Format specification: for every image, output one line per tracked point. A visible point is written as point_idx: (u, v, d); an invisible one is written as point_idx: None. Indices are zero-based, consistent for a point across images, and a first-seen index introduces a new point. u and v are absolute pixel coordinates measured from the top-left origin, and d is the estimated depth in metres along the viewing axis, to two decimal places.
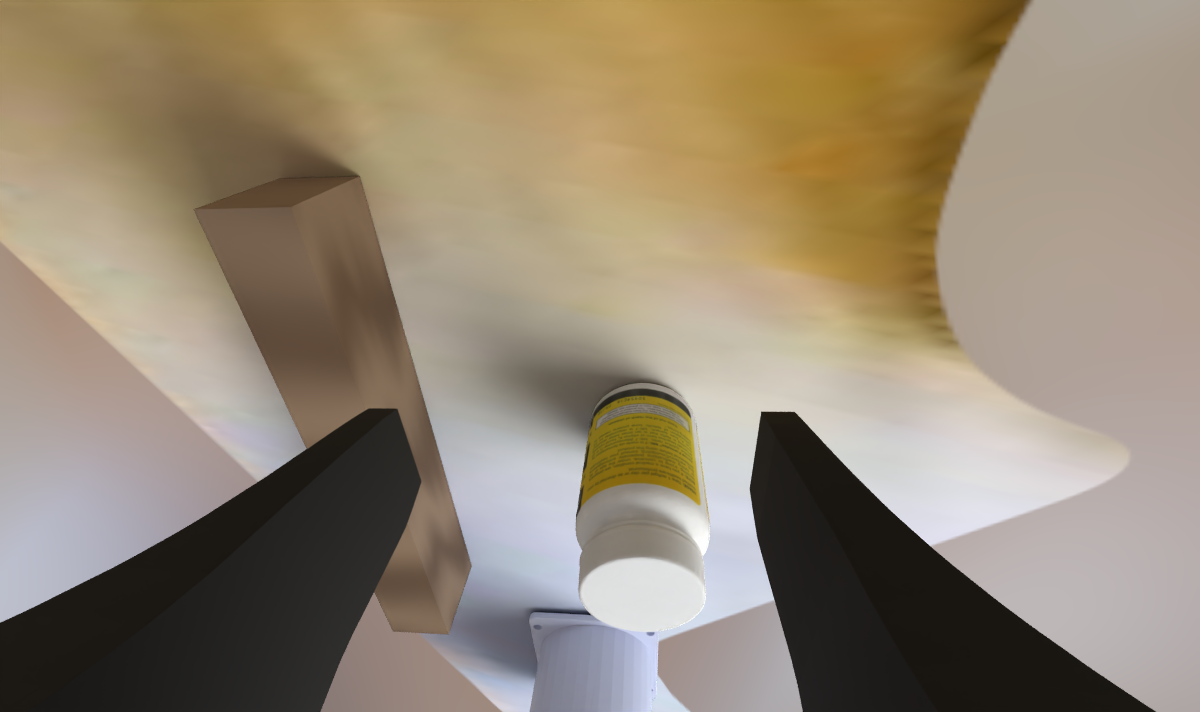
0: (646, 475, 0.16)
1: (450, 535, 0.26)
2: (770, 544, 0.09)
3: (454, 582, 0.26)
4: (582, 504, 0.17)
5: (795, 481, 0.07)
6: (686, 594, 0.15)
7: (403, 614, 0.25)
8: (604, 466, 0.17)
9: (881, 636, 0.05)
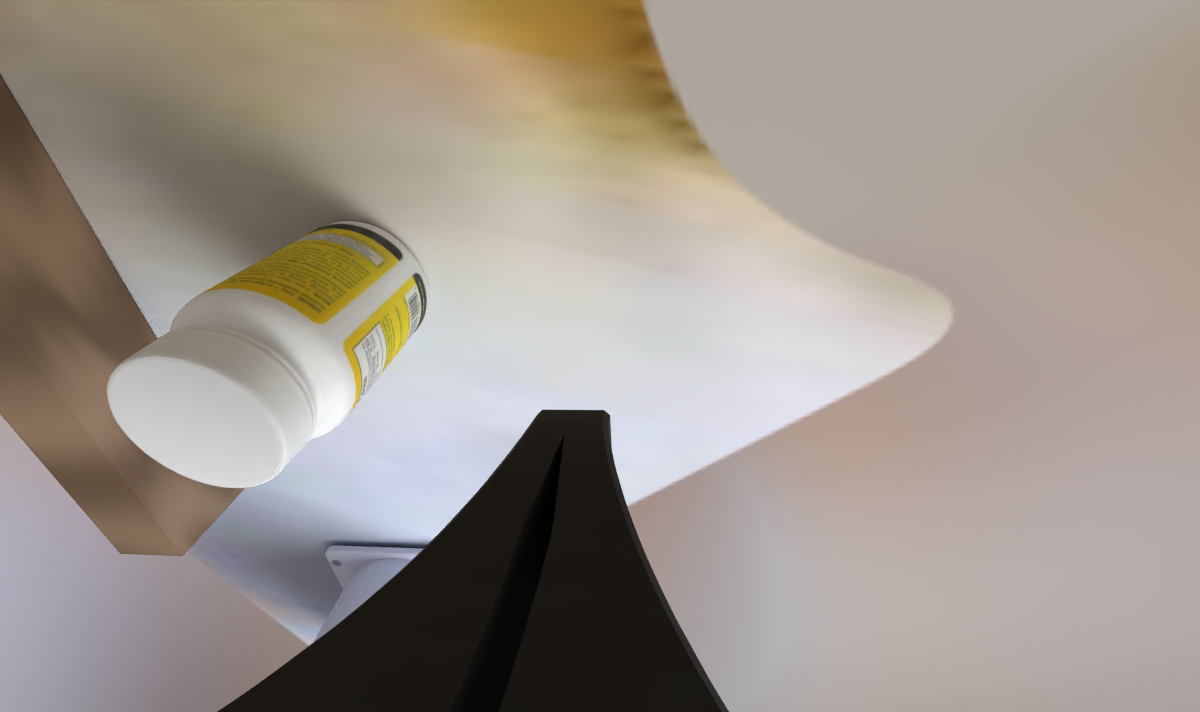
0: (243, 283, 0.12)
1: None
2: None
3: (198, 497, 0.22)
4: None
5: (561, 476, 0.08)
6: (247, 419, 0.11)
7: (120, 529, 0.21)
8: None
9: None
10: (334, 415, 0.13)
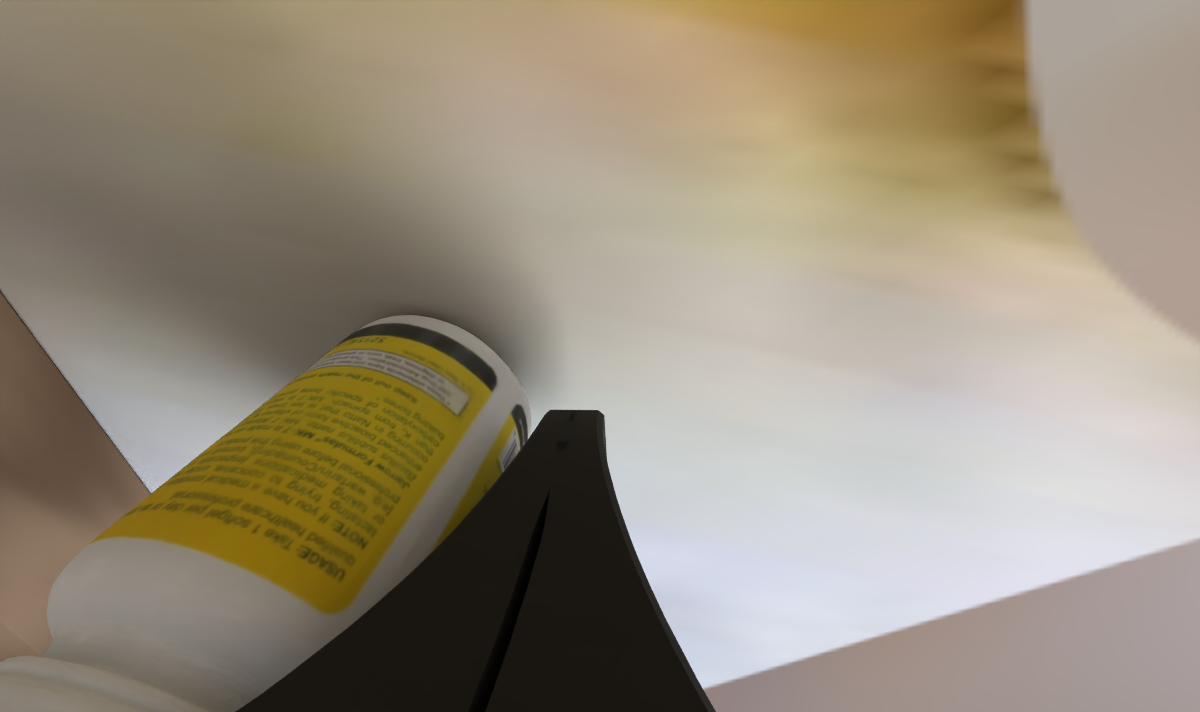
0: (191, 516, 0.06)
1: None
2: None
3: None
4: None
5: (554, 476, 0.08)
6: None
7: None
8: (167, 481, 0.07)
9: None
10: None
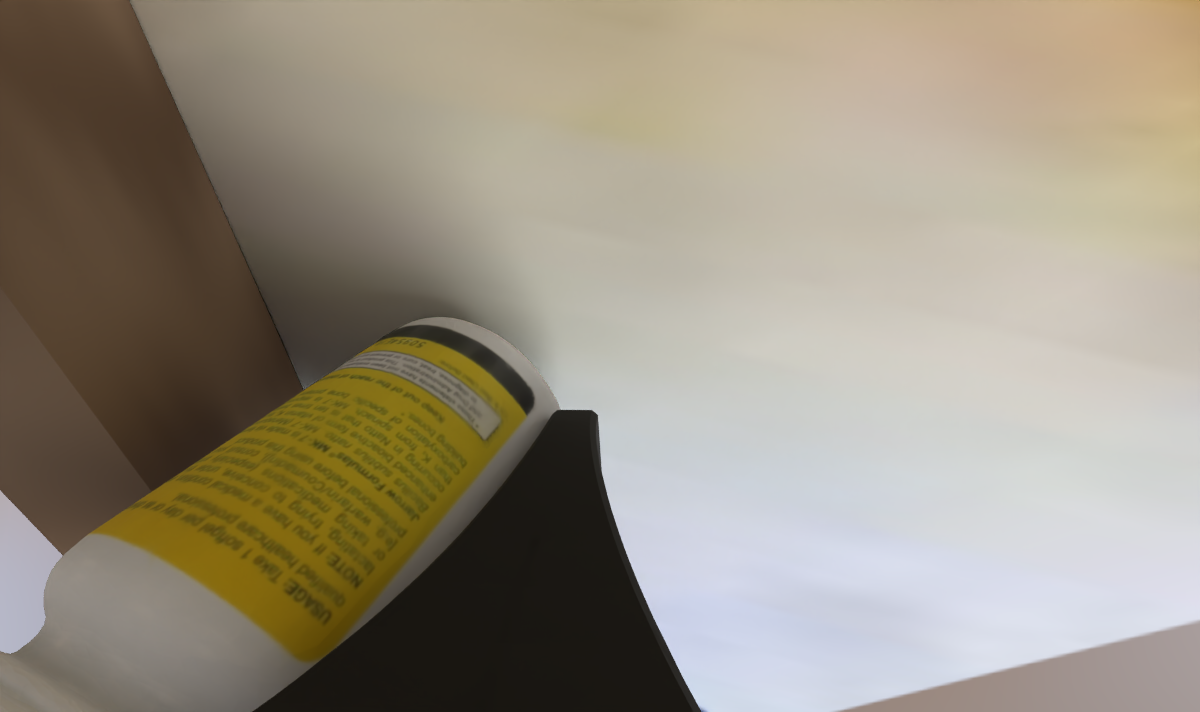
0: (185, 528, 0.06)
1: None
2: None
3: None
4: None
5: (546, 476, 0.08)
6: None
7: None
8: (182, 471, 0.07)
9: None
10: None
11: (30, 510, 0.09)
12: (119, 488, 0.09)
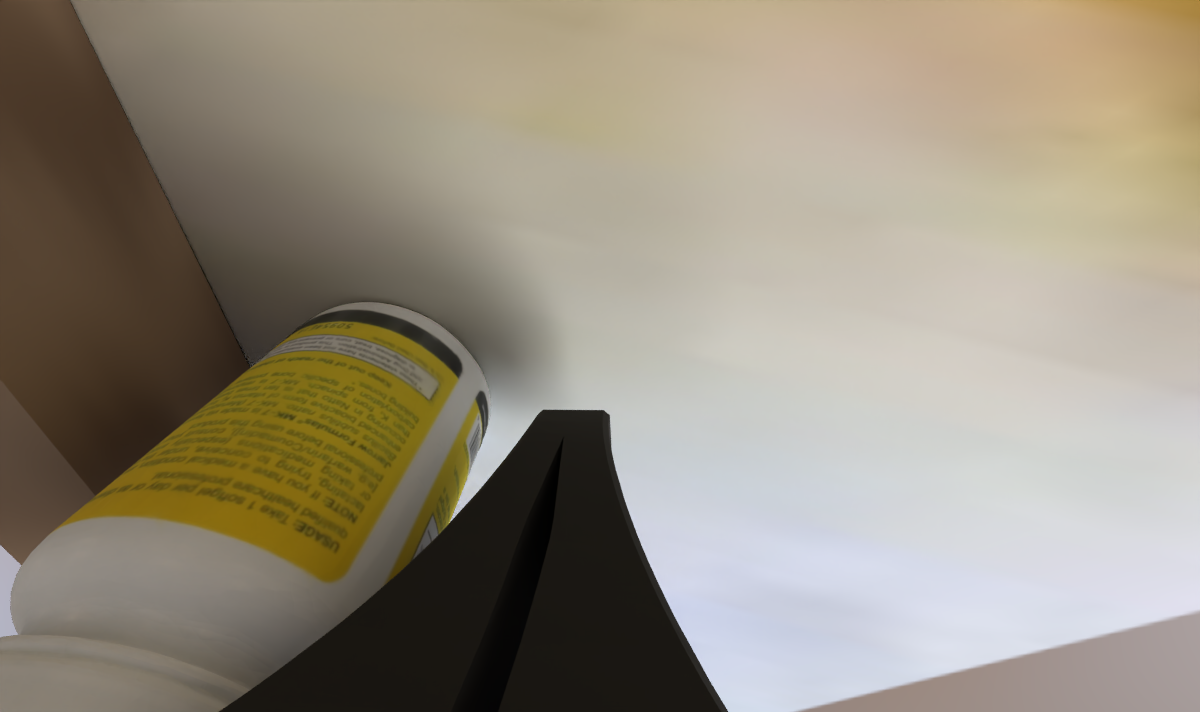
0: (181, 496, 0.06)
1: None
2: None
3: None
4: None
5: (560, 477, 0.08)
6: None
7: None
8: (135, 464, 0.07)
9: None
10: None
11: None
12: (55, 482, 0.09)
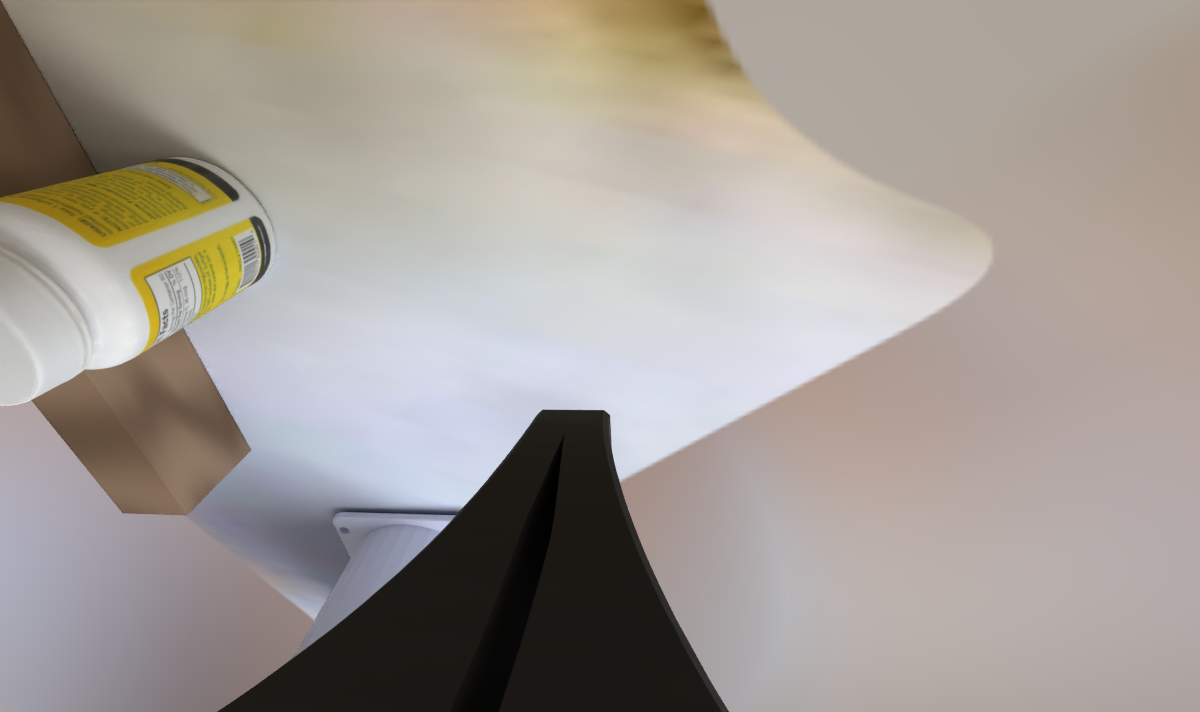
0: (19, 198, 0.12)
1: (191, 395, 0.21)
2: None
3: (203, 456, 0.22)
4: None
5: (561, 477, 0.08)
6: None
7: (122, 486, 0.20)
8: None
9: None
10: (122, 343, 0.13)
11: None
12: None
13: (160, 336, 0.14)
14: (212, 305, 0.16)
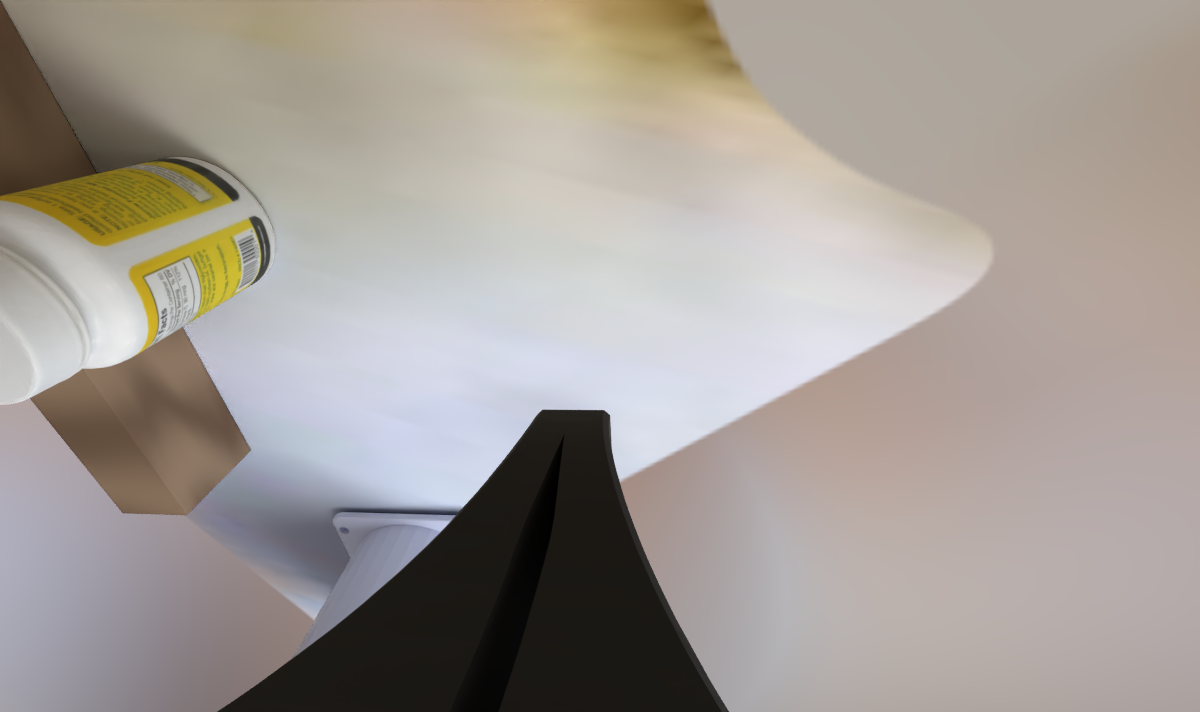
0: (18, 197, 0.12)
1: (191, 395, 0.21)
2: None
3: (203, 456, 0.22)
4: None
5: (561, 477, 0.08)
6: None
7: (122, 486, 0.20)
8: None
9: None
10: (120, 342, 0.13)
11: None
12: None
13: (159, 335, 0.14)
14: (211, 305, 0.16)
